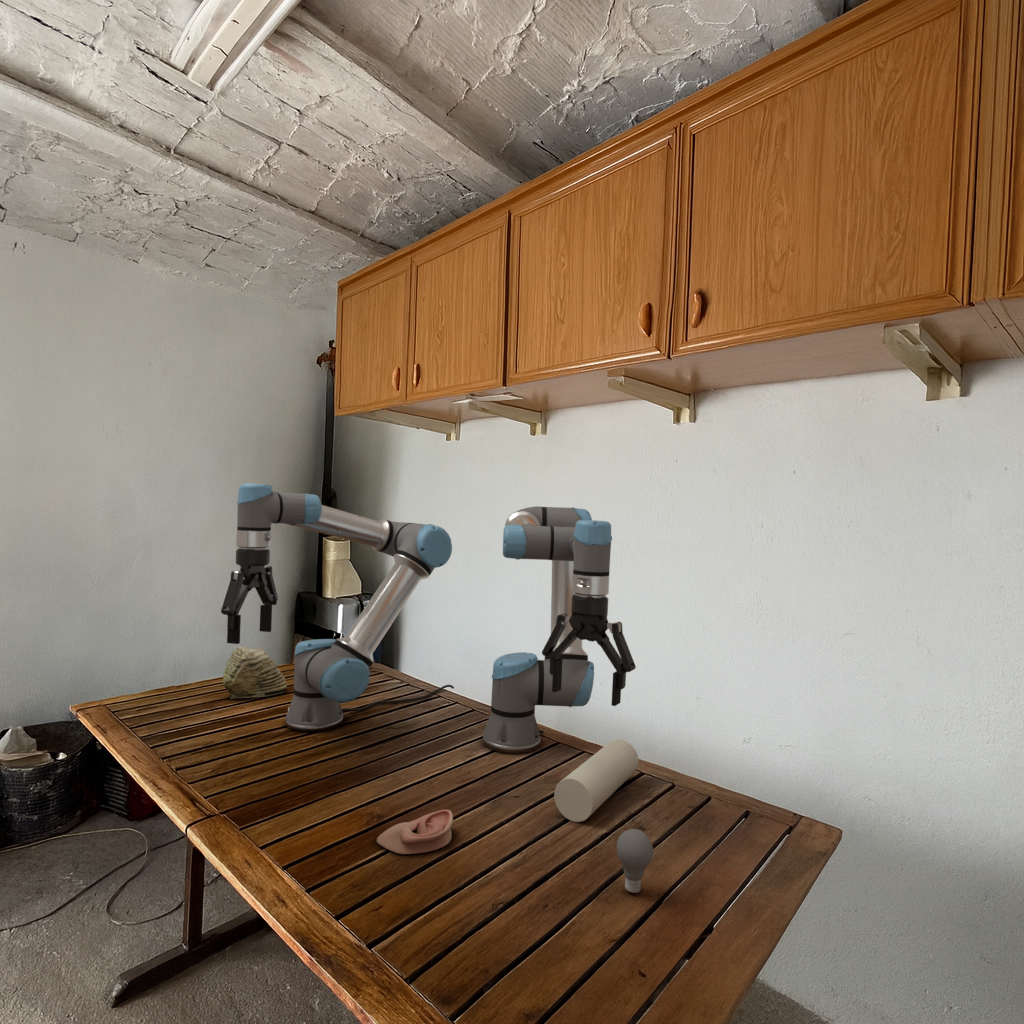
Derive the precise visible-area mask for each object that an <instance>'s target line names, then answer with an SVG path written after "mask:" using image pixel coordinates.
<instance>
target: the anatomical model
mask: <svg viewBox="0 0 1024 1024" xmlns="http://www.w3.org/2000/svg"><path fill="white" fill-rule="evenodd" d="M453 823H454V815H453V811H451V810H450V809H441V810H436V811H433V812H431V813H427V814H425V815H423V816H420V817H418V818H416V819H414V820H411V821H407V822H400V823H396V824H394V825H393V826H390V827H389V828H387V829H386V830H385V831H383V832H382V833H381V834H379V835H378V836H377V838H376V843H377V844H378V845H379V846H380V847H382V848H384V849H386V850H388V851H390V852H392V853H395V854H399V855H414V854H422V853H428V852H432V851H436V850H438V849H440V848H443V847H445V846H447V845H448V844H449V843H450V842H451V840H452V835H453V834H452V829H451V828H452V827H453Z"/></svg>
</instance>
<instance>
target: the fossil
mask: <svg viewBox="0 0 1024 1024" xmlns="http://www.w3.org/2000/svg"><path fill="white" fill-rule="evenodd" d="M222 676H223V677H222V685H223V687H224V688H225V690H226V691H228V693H229V698H230V699H250V698H264V697H271V696H275V695H281V694H284V693H285V691H286V689H287V687H288V686H287V680H286V678H285V676H284V674H283V673H282V672H281V669H279V668H278V667H277V665H276V663H275V662H274V660H273V659H272V658H271V657H270V656H269V655H268V654H267V653H266V652H265V650H264V649H263V648H260V647H258V648H251V647H247V646H246V647H245V646H238V647H237V648H236V649H235V650H233V651H232V653H231V656H230V657H229V659H228V660H227V663H226V666H225V668H224V671H223V675H222Z"/></svg>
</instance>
